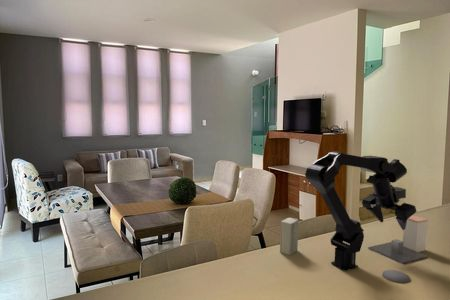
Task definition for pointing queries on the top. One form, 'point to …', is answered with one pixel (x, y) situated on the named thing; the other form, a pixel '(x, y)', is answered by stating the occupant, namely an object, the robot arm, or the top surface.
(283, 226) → the skincare box
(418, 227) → the pink-topped tall block
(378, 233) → the top surface
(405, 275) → the slate coaster
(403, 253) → the post plate
